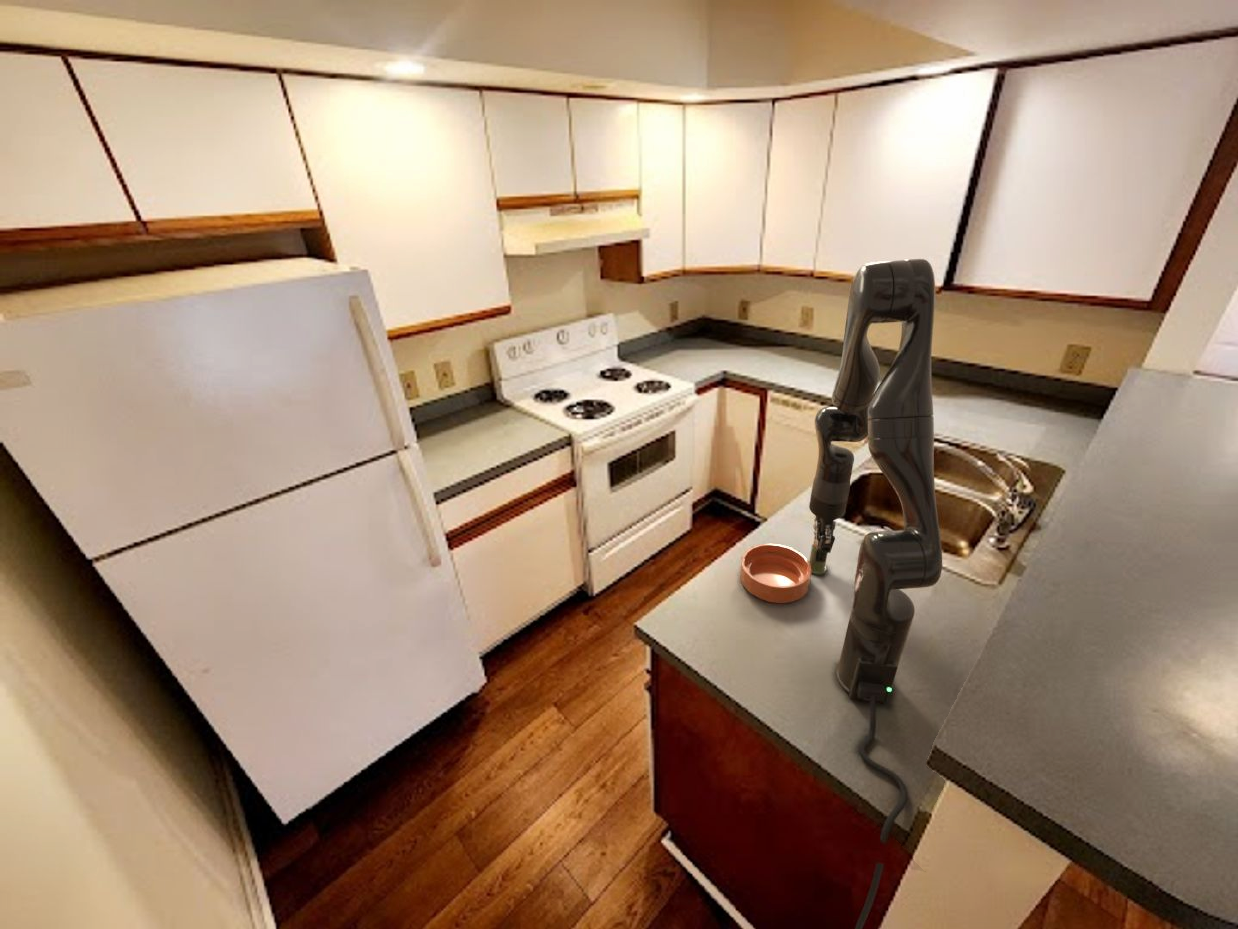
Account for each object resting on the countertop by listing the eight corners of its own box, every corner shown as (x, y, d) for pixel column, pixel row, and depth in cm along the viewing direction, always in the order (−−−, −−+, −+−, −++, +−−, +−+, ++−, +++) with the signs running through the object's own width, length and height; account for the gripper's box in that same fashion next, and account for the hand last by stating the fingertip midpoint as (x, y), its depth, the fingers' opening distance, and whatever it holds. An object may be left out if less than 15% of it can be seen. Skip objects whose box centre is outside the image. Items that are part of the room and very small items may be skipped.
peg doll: (827, 576, 124) (833, 545, 119) (807, 574, 125) (812, 543, 120) (824, 563, 128) (830, 533, 123) (805, 562, 128) (810, 531, 124)
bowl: (811, 608, 115) (814, 591, 113) (739, 600, 118) (741, 583, 116) (805, 563, 128) (807, 547, 125) (740, 557, 131) (741, 541, 128)
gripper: (808, 475, 122) (799, 535, 131) (815, 509, 110) (804, 573, 119) (843, 477, 121) (831, 538, 129) (853, 512, 109) (840, 577, 117)
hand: (818, 554), depth 124 cm, fingers closed on peg doll, 3 cm apart
